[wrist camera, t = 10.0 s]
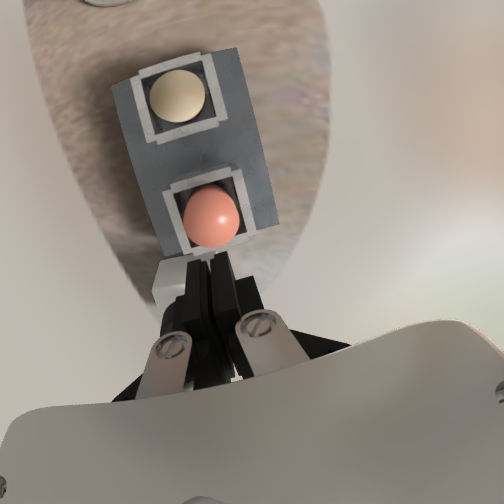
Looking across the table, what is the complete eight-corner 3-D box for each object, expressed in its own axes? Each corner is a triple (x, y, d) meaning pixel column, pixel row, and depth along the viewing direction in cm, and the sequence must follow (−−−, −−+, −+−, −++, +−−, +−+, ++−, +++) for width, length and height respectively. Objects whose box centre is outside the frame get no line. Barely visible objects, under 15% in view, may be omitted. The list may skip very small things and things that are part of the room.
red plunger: (180, 192, 24) (176, 203, 20) (227, 178, 24) (231, 187, 20) (194, 235, 25) (193, 254, 22) (239, 222, 26) (245, 239, 22)
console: (124, 92, 25) (97, 79, 17) (231, 60, 25) (241, 35, 17) (170, 238, 32) (160, 273, 25) (268, 210, 33) (289, 236, 25)
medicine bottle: (174, 307, 36) (167, 374, 25) (159, 259, 33) (142, 319, 22) (226, 297, 37) (237, 363, 26) (216, 248, 34) (223, 305, 23)
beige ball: (153, 87, 21) (144, 80, 17) (198, 73, 21) (197, 63, 17) (164, 129, 23) (157, 129, 19) (210, 115, 23) (210, 112, 19)
